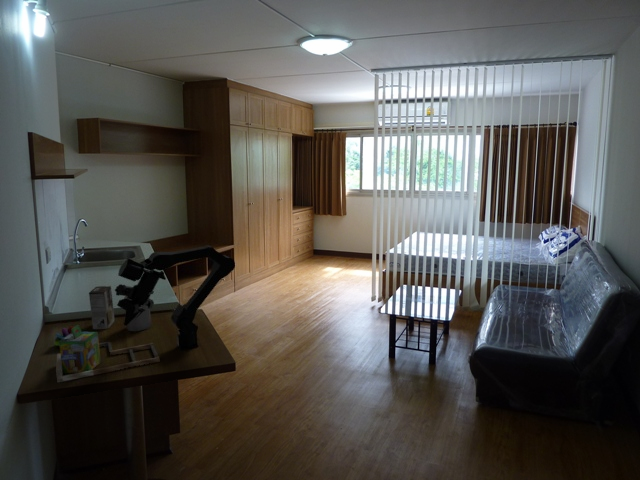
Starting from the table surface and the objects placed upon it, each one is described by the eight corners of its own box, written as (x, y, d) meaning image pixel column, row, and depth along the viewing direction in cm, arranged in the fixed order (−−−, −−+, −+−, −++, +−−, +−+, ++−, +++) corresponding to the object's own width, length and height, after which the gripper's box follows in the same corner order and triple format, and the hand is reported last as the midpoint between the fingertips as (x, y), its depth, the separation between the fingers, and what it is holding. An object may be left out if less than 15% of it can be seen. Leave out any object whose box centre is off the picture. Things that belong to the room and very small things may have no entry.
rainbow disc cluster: (86, 344, 183) (84, 326, 182) (59, 352, 176) (56, 333, 175) (77, 339, 189) (75, 321, 187) (51, 346, 182) (48, 328, 180)
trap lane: (149, 337, 189) (148, 327, 188) (159, 361, 167) (158, 350, 166) (59, 353, 175) (57, 343, 174) (57, 382, 152) (56, 370, 152)
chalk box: (89, 374, 158) (84, 331, 155) (61, 374, 158) (56, 332, 156) (102, 362, 167) (97, 321, 164) (76, 362, 167) (71, 322, 165)
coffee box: (99, 322, 207) (96, 286, 204) (115, 321, 208) (111, 285, 205) (92, 329, 198) (88, 292, 195) (108, 328, 199) (104, 291, 196)
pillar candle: (133, 322, 205) (130, 289, 202) (155, 323, 204) (152, 289, 201) (122, 331, 196) (118, 296, 193) (145, 331, 195) (141, 296, 192)
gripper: (136, 274, 178) (116, 311, 178) (114, 276, 159) (92, 318, 159) (162, 288, 178) (143, 325, 177) (144, 291, 159) (122, 333, 159)
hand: (125, 325), depth 168 cm, fingers closed
